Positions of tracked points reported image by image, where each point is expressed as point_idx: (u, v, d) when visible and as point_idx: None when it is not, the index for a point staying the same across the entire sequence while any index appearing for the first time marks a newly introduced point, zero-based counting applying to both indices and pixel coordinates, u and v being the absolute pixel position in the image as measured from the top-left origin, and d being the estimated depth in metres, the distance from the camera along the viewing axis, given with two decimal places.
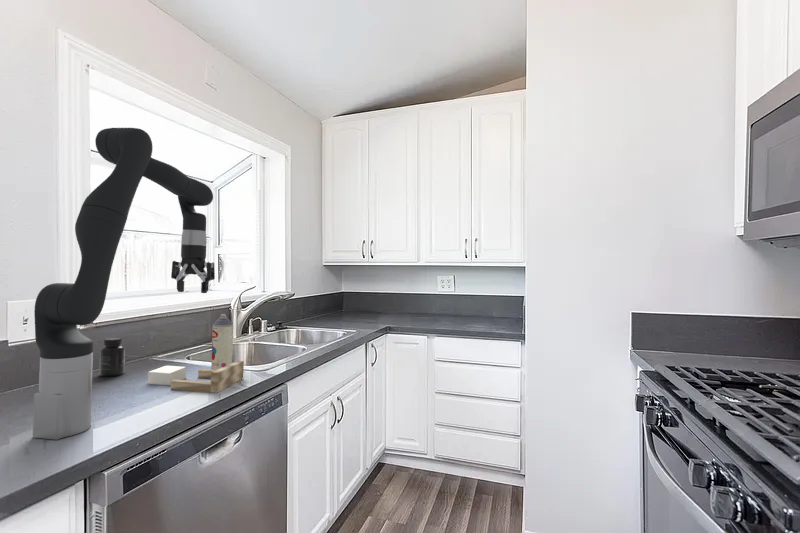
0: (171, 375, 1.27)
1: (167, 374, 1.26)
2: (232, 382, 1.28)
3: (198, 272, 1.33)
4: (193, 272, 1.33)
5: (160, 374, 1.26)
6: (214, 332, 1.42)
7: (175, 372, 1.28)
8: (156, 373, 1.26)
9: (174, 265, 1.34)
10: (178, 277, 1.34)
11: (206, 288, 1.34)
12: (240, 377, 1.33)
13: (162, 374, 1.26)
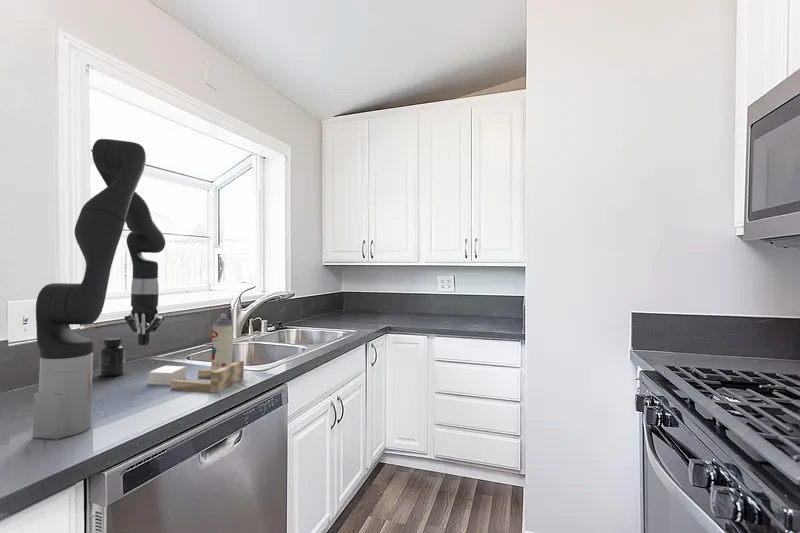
0: (173, 375, 1.27)
1: (169, 374, 1.26)
2: (232, 382, 1.28)
3: (143, 323, 1.29)
4: (140, 318, 1.30)
5: (161, 374, 1.26)
6: (214, 332, 1.42)
7: (176, 372, 1.29)
8: (157, 373, 1.26)
9: (128, 319, 1.31)
10: (139, 330, 1.30)
11: (146, 340, 1.31)
12: (240, 377, 1.33)
13: (163, 374, 1.26)
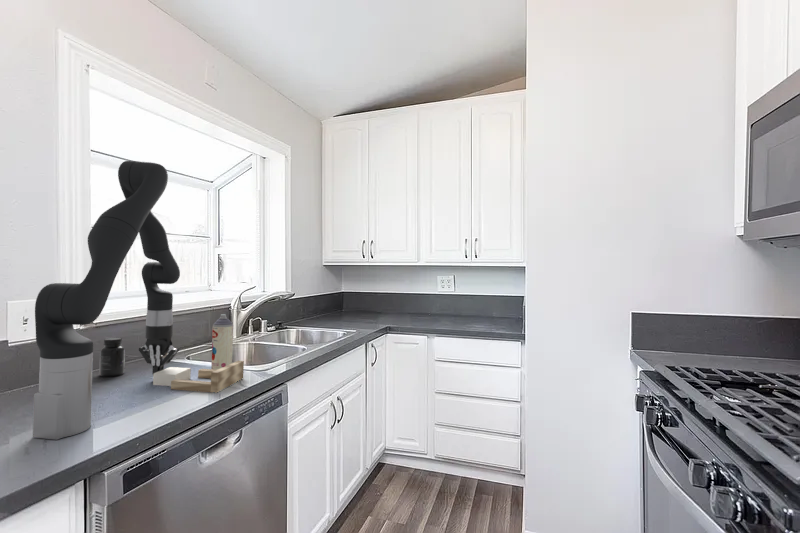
0: (177, 377, 1.26)
1: (173, 376, 1.25)
2: (232, 382, 1.28)
3: (158, 355, 1.28)
4: (154, 350, 1.29)
5: (166, 375, 1.25)
6: (214, 332, 1.42)
7: (180, 373, 1.27)
8: (161, 375, 1.25)
9: (142, 351, 1.30)
10: (154, 362, 1.29)
11: None
12: (240, 377, 1.33)
13: (168, 375, 1.25)
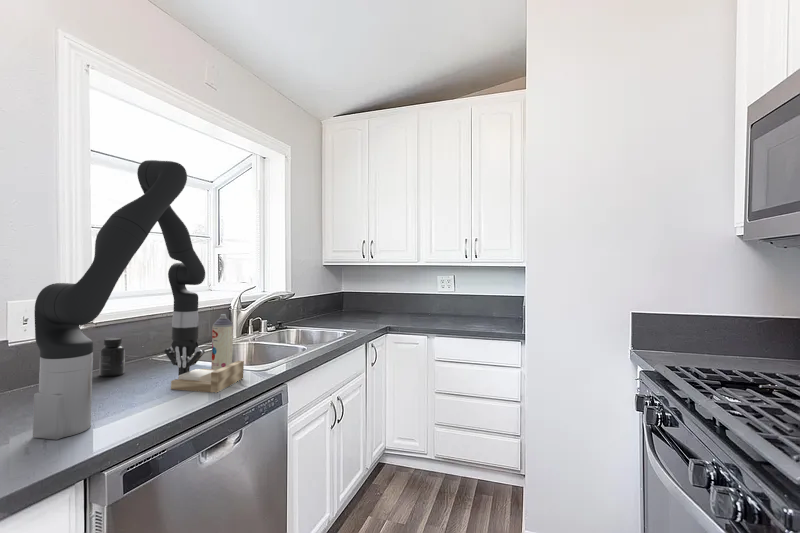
0: (201, 379, 1.24)
1: (197, 378, 1.23)
2: (232, 382, 1.28)
3: (184, 357, 1.27)
4: (181, 352, 1.28)
5: (190, 378, 1.23)
6: (214, 332, 1.42)
7: (205, 376, 1.25)
8: (186, 377, 1.23)
9: (168, 353, 1.29)
10: (180, 364, 1.28)
11: None
12: (240, 377, 1.33)
13: (192, 378, 1.23)
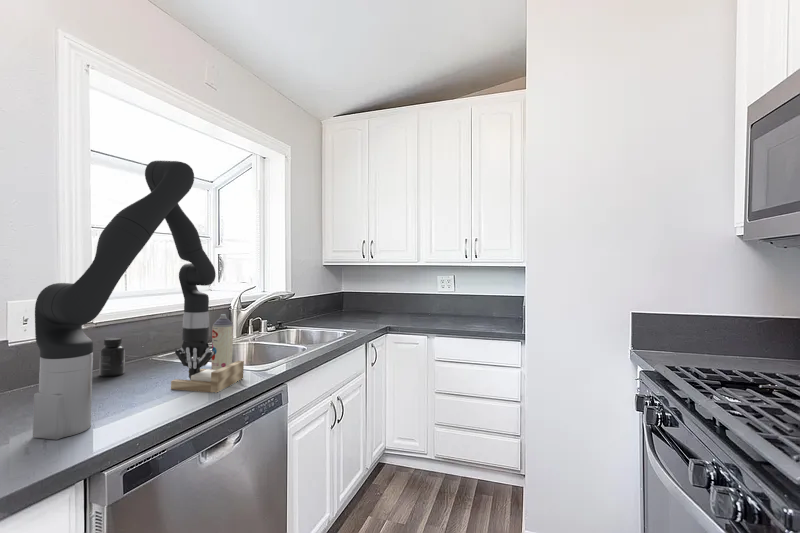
0: None
1: (210, 378, 1.23)
2: (232, 382, 1.28)
3: (195, 358, 1.27)
4: (191, 353, 1.28)
5: (203, 378, 1.23)
6: (214, 332, 1.42)
7: None
8: (199, 377, 1.23)
9: (178, 353, 1.28)
10: (190, 365, 1.27)
11: None
12: (240, 377, 1.33)
13: (205, 378, 1.23)
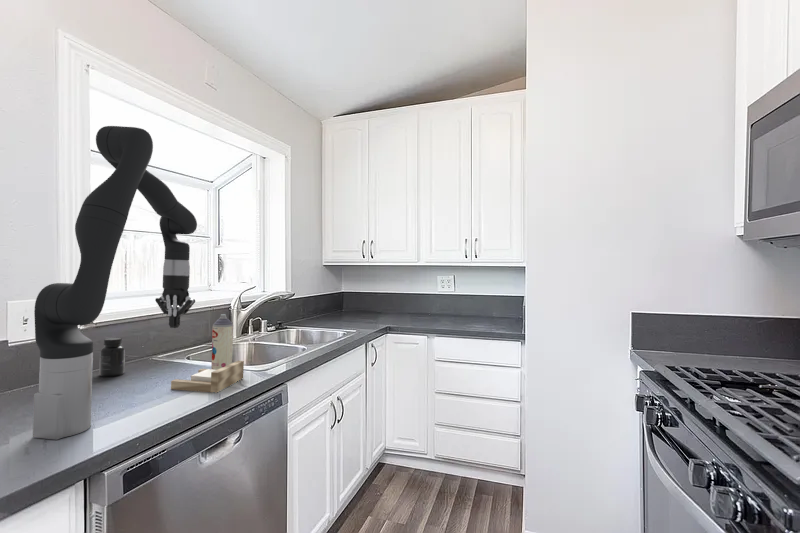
0: None
1: (210, 378, 1.23)
2: (232, 382, 1.28)
3: (175, 305, 1.28)
4: (171, 301, 1.29)
5: (203, 378, 1.23)
6: (214, 332, 1.42)
7: None
8: (199, 377, 1.23)
9: (159, 301, 1.29)
10: (170, 312, 1.28)
11: (177, 323, 1.29)
12: (240, 377, 1.33)
13: (205, 378, 1.23)
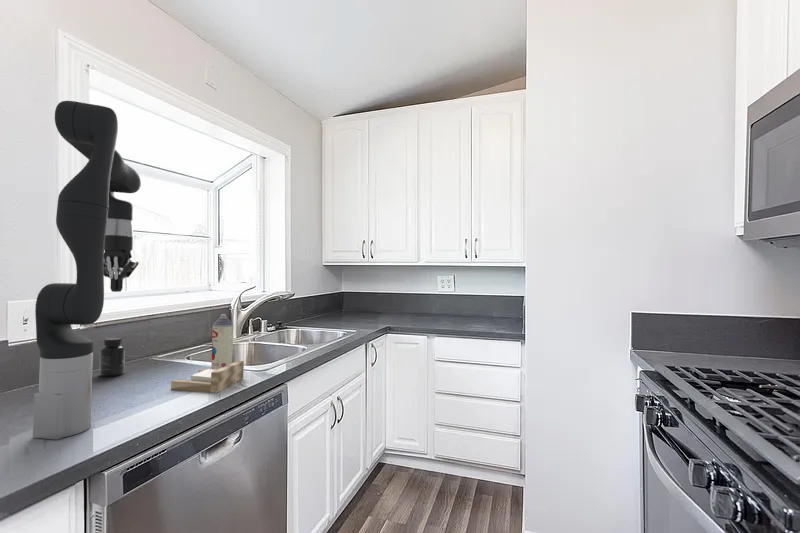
0: None
1: (210, 378, 1.22)
2: (232, 382, 1.28)
3: (116, 267, 1.21)
4: (112, 263, 1.21)
5: (202, 378, 1.23)
6: (214, 332, 1.42)
7: None
8: (198, 377, 1.23)
9: None
10: (112, 275, 1.21)
11: (119, 286, 1.22)
12: (240, 377, 1.33)
13: (204, 378, 1.23)
